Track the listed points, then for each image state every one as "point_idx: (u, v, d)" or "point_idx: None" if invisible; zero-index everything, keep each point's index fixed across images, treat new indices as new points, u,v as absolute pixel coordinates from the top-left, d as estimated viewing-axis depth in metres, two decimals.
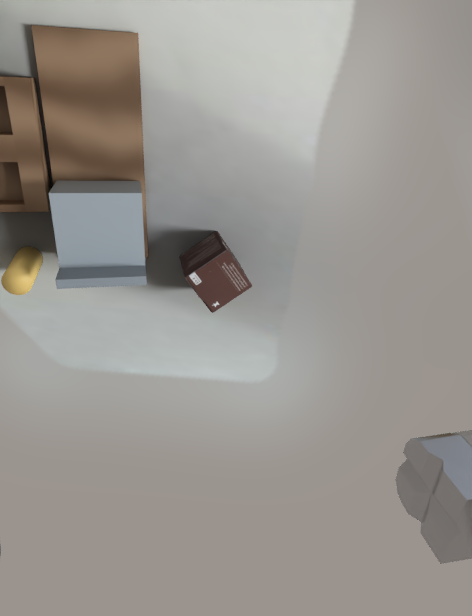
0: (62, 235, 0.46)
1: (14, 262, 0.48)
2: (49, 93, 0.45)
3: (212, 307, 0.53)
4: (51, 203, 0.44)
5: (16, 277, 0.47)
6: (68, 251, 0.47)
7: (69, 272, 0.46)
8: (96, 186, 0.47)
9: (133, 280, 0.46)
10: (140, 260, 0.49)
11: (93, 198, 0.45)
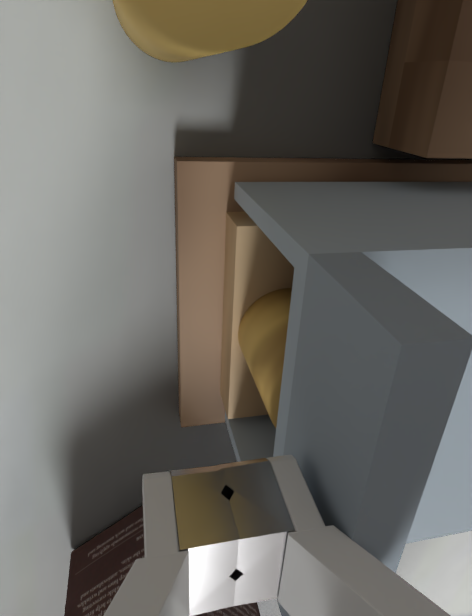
0: None
1: None
2: None
3: None
4: None
5: None
6: (437, 302, 0.09)
7: None
8: None
9: None
10: None
11: None
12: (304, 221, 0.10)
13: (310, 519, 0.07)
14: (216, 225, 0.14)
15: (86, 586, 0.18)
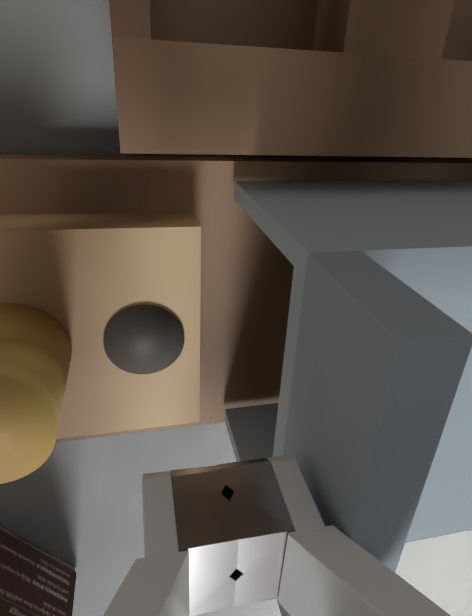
0: None
1: None
2: None
3: None
4: None
5: None
6: (436, 300, 0.09)
7: None
8: None
9: None
10: None
11: None
12: (303, 220, 0.10)
13: (310, 519, 0.07)
14: None
15: None
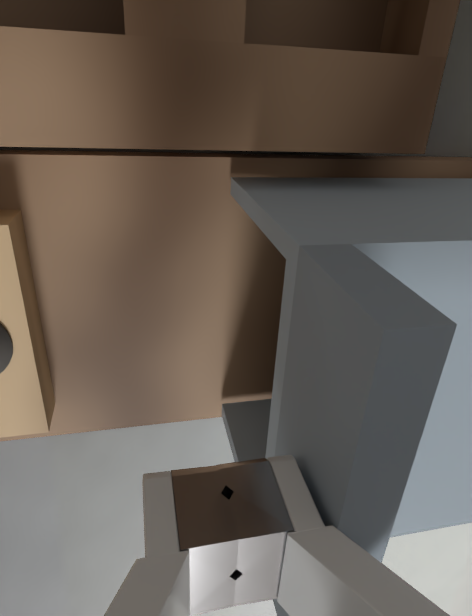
0: None
1: None
2: None
3: None
4: None
5: None
6: (427, 294, 0.09)
7: None
8: None
9: None
10: None
11: None
12: (297, 215, 0.10)
13: (310, 519, 0.07)
14: None
15: None
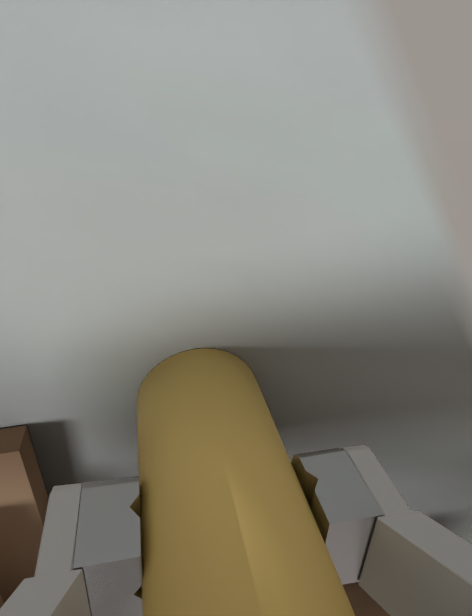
0: None
1: None
2: None
3: None
4: None
5: None
6: None
7: None
8: None
9: None
10: None
11: None
12: None
13: (396, 504, 0.07)
14: None
15: None
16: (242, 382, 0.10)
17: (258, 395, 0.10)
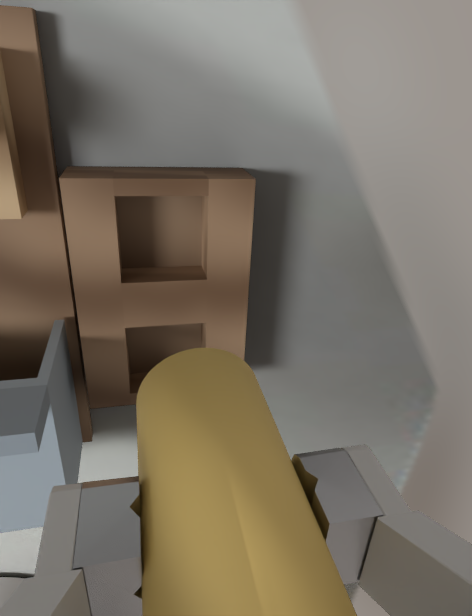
0: (44, 464, 0.21)
1: None
2: None
3: None
4: None
5: None
6: None
7: None
8: None
9: None
10: None
11: None
12: (55, 371, 0.21)
13: (396, 504, 0.07)
14: None
15: None
16: (242, 381, 0.09)
17: (258, 394, 0.10)
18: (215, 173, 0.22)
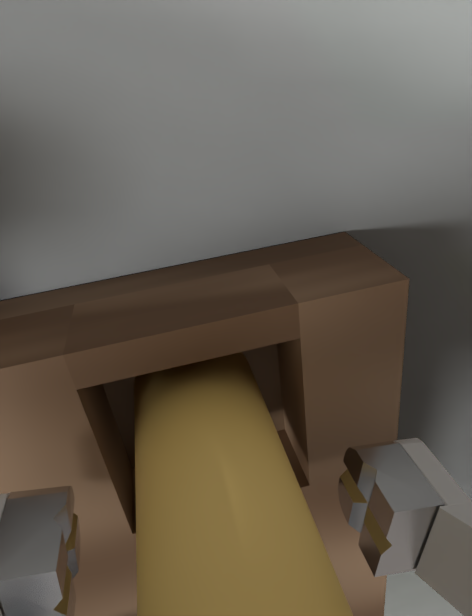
0: None
1: None
2: None
3: None
4: None
5: None
6: None
7: None
8: None
9: None
10: None
11: None
12: None
13: (456, 494, 0.08)
14: None
15: None
16: (235, 366, 0.10)
17: (250, 378, 0.10)
18: (301, 269, 0.10)
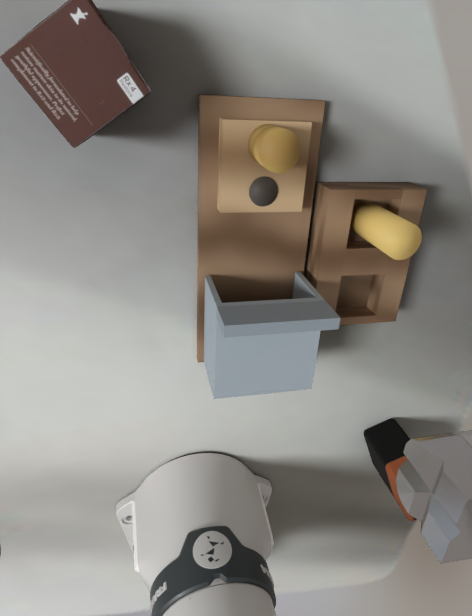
0: (309, 349, 0.38)
1: None
2: None
3: (85, 7, 0.24)
4: (311, 379, 0.40)
5: (400, 249, 0.34)
6: (308, 331, 0.37)
7: None
8: None
9: (242, 331, 0.32)
10: None
11: (267, 388, 0.39)
12: None
13: None
14: (300, 116, 0.35)
15: None
16: None
17: None
18: (400, 186, 0.39)
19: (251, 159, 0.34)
